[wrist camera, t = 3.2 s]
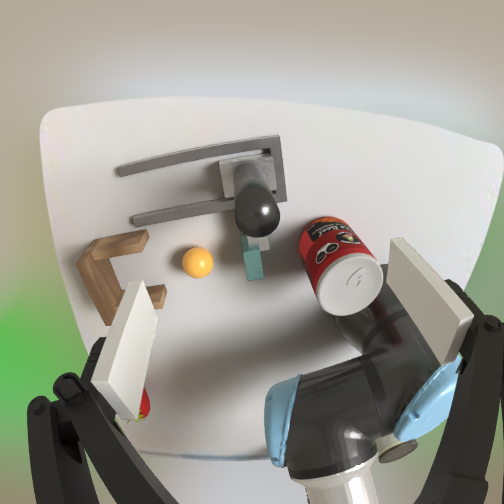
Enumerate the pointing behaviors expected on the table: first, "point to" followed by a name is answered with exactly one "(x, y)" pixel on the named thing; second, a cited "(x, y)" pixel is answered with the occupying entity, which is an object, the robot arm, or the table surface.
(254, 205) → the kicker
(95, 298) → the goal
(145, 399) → the strawberry
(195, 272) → the ball
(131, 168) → the rail
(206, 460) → the table surface
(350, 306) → the canned food
